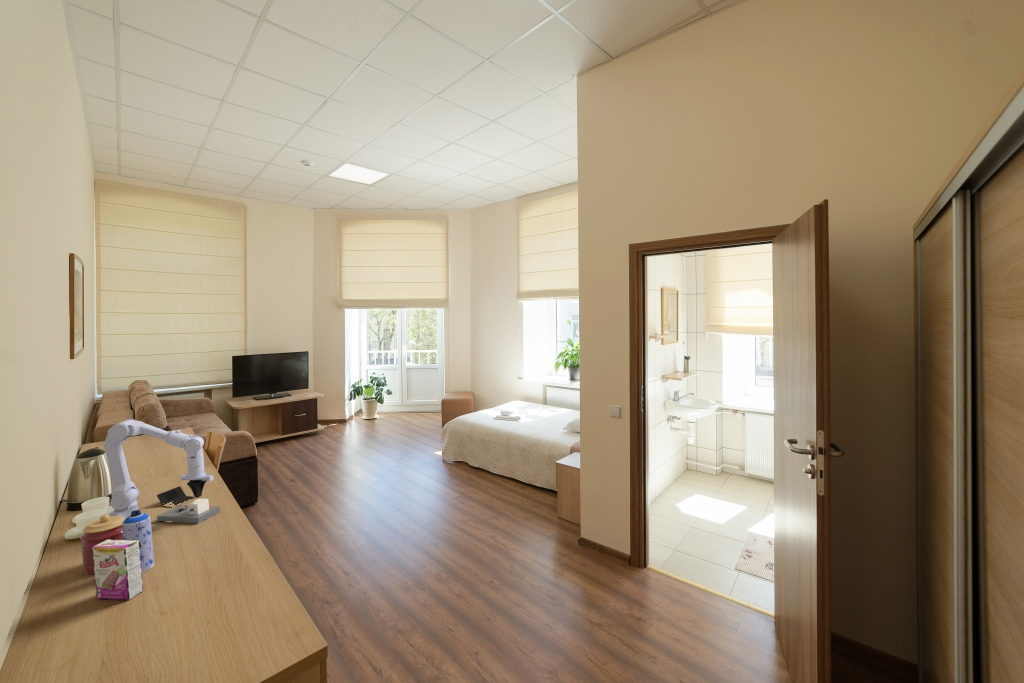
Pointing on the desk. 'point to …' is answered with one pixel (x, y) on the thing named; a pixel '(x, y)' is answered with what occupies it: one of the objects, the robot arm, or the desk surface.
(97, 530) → the canister
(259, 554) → the desk surface
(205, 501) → the plug
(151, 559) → the aerosol can
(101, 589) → the candy bar box
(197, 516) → the socket
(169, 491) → the black angular piece
